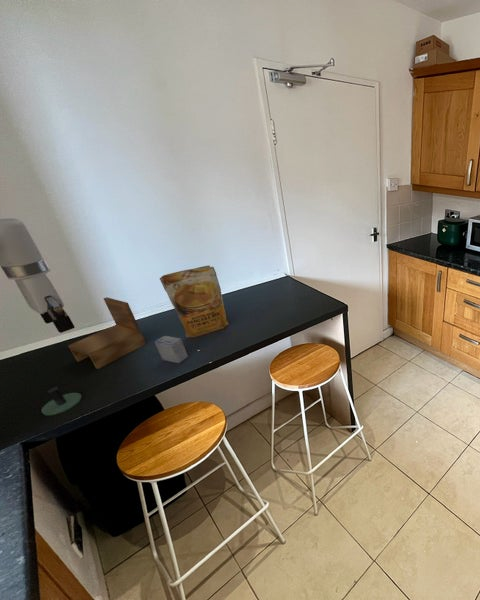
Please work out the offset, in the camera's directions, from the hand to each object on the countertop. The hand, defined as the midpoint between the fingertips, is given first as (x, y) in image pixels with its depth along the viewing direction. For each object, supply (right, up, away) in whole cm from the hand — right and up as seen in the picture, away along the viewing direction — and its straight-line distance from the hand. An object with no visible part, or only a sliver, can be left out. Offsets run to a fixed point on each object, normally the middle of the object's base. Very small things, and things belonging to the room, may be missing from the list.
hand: (60, 325), depth 88 cm
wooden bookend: (-17, -13, +35) cm, 41 cm away
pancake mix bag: (+11, -6, +49) cm, 51 cm away
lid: (-11, -26, +11) cm, 30 cm away
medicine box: (+10, -15, +31) cm, 36 cm away
